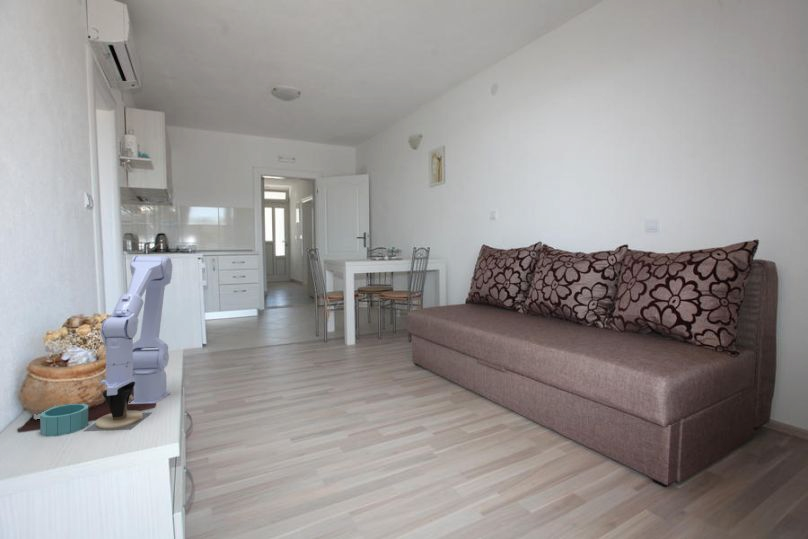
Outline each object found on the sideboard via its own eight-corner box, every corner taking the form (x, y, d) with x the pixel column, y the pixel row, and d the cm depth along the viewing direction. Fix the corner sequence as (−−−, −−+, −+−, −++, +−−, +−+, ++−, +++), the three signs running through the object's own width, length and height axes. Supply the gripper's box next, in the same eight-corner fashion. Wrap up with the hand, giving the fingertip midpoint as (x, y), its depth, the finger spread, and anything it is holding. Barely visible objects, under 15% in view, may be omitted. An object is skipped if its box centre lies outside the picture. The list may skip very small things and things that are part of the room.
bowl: (58, 423, 103) (58, 404, 103) (96, 421, 105) (96, 403, 105) (30, 438, 95) (30, 417, 94) (72, 436, 96) (72, 416, 96)
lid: (110, 414, 108) (110, 396, 108) (149, 413, 110) (149, 395, 110) (86, 430, 98) (86, 410, 98) (130, 428, 100) (130, 408, 100)
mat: (109, 415, 109) (109, 413, 109) (152, 414, 110) (152, 412, 110) (82, 433, 98) (82, 431, 98) (131, 431, 99) (131, 429, 99)
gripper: (109, 357, 109) (109, 406, 109) (91, 371, 95) (91, 427, 96) (139, 355, 112) (139, 403, 112) (126, 368, 98) (126, 422, 99)
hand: (119, 414), depth 104 cm, fingers closed on lid, 3 cm apart
